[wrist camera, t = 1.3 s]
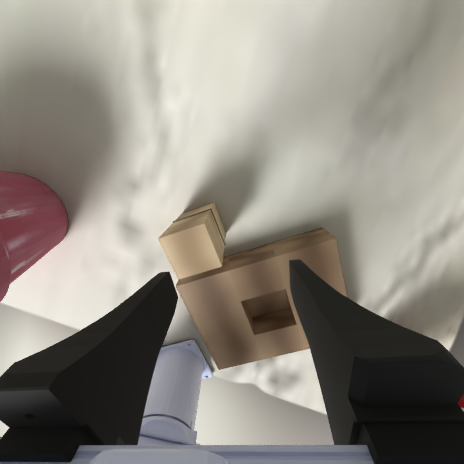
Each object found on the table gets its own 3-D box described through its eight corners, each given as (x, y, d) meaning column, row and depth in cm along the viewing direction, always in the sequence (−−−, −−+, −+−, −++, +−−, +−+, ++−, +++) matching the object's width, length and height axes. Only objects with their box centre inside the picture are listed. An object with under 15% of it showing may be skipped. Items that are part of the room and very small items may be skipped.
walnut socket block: (220, 347, 31) (218, 369, 28) (183, 270, 26) (175, 286, 23) (340, 317, 29) (354, 337, 25) (322, 227, 24) (335, 238, 21)
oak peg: (195, 243, 25) (178, 280, 18) (181, 213, 24) (156, 238, 16) (226, 233, 25) (222, 266, 17) (214, 201, 23) (204, 222, 16)
